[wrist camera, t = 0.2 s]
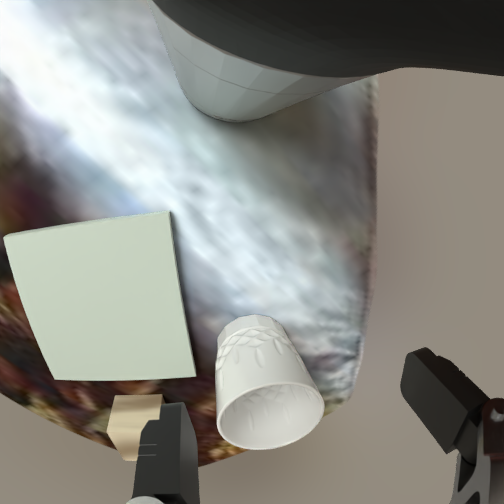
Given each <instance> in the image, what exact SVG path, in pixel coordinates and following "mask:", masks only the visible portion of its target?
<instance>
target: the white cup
mask: <svg viewBox="0 0 504 504" xmlns="http://www.w3.org/2000/svg"><path fill="white" fill-rule="evenodd" d="M215 373H216V410H217V428H218V431H219V433H220V434H221V436H222V437H223V438H224V439H225V440H226V441H228V442H229V443H231V444H233V445H235V446H238V447H241V448H245V449H252V450H265V449H273V448H278V447H282V446H285V445H288V444H291V443H293V442H295V441H297V440H299V439H301V438H302V437H304V436H306V435H307V434H308V433H310V432H311V431H312V430H313V429H314V428H315V427H316V426H317V424H318V423H319V422H320V420H321V418H322V416H323V413H324V408H325V405H324V400H323V398H322V396H321V394H320V392H319V390H318V389H317V387H316V385H315V383H314V381H313V380H312V378H311V376H310V374H309V372H308V370H307V368H306V366H305V365H304V363H303V361H302V359H301V357H300V356H299V354H298V352H297V350H296V349H295V347H294V345H293V344H292V343H291V342H290V340H289V339H288V337H287V335H286V333H285V331H284V329H283V327H282V326H281V325H280V324H279V323H277V322H276V321H275V320H274V319H272V318H271V317H267V316H262V315H257V314H253V315H248V316H242V317H238V318H237V319H235V320H234V321H232V322H230V323H229V324H227V325H226V326H225V327H224V329H223V330H222V332H221V333H220V335H219V336H218V338H217V360H216V372H215Z"/></svg>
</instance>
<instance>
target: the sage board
mask: <svg viewBox="0 0 504 504" xmlns="http://www.w3.org/2000/svg"><path fill="white" fill-rule="evenodd" d="M3 238H4V242H5V246H6V250H7V254H8V258H9V262H10V265H11V269H12V272H13V276H14V279H15V282H16V286H17V289H18V292H19V295H20V298H21V301H22V304H23V306H24V309H25V312H26V315H27V317H28V320H29V323H30V325H31V328H32V330H33V333H34V335H35V338H36V340H37V342H38V345H39V347H40V349H41V351H42V354H43V356H44V358H45V360H46V362H47V365H48V367H49V369H50V371H51V373H52V375H53V377H54V379H57V380H94V381H109V380H148V379H167V378H181V377H194V376H196V367H195V363H194V358H193V353H192V348H191V343H190V338H189V333H188V327H187V322H186V316H185V311H184V305H183V299H182V293H181V287H180V281H179V274H178V268H177V261H176V254H175V247H174V240H173V233H172V225H171V217H170V210H169V211H160V212H152V213H144V214H136V215H128V216H120V217H113V218H106V219H98V220H92V221H85V222H78V223H72V224H65V225H59V226H53V227H47V228H41V229H35V230H29V231H23V232H18V233H12V234H8V235H6V236H5V237H3Z"/></svg>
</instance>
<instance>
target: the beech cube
mask: <svg viewBox="0 0 504 504" xmlns="http://www.w3.org/2000/svg"><path fill="white" fill-rule="evenodd" d="M162 404H165V401H164V398H163V396H162V394H159V395H120V396H115V398H114V402H113V406H112V411H111V415H110V419H109V423H108V428H107V433H108V435H109V437H110V438H111V440H112V442H113V443H114V445H115V446H116V448H117V450H118V451H119V453H120V454H121V456H122V457H123V459H124V460H126V461H137V457H138V449H139V446H140V445H139V442H140V435H141V431H142V429H143V428H144V426H145V425H146V423H147V422H148V420H158V419H159V415H160V407H161V405H162Z"/></svg>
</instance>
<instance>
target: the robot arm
mask: <svg viewBox="0 0 504 504" xmlns="http://www.w3.org/2000/svg"><path fill="white" fill-rule="evenodd" d="M147 1H148V4H149V7H150V9H151V11H152V14H153V16H154V19H155V21H156V24H157V26H158V29H159V32H160V34H161V37H162V40H163V42H164V45H165V47H166V50H167V53H168V55H169V58H170V60H171V63H172V66H173V68H174V71H175V74H176V77H177V79H178V82H179V84H180V87H181V89H182V90H183V92H184V94H185V96H186V98H187V99H188V100H189V101H190V102H191V103H192V104H193V105H194V106H195V107H196V108H197V109H199V110H200V111H201V112H203V113H204V114H206V115H208V116H211V117H213V118H215V119H219V120H223V121H227V122H246V121H253V120H256V119H260V118H263V117H266V116H268V115H270V114H273V113H274V112H276V111H279V110H281V109H283V108H286V107H288V106H291V105H293V104H296V103H298V102H301V101H303V100H306V99H308V98H311V97H313V96H316V95H319V94H321V93H324V92H327V91H329V90H332V89H334V88H337V87H340V86H343V85H346V84H349V83H352V82H355V81H358V80H361V79H364V78H367V77H370V76H373V75H376V74H379V73H383V72H387V71H391V70H394V69H398V68H404V67H417V68H436V69H447V70H456V71H463V72H473V73H479V74H488V75H497V76H504V0H147ZM400 387H401V392H402V395H403V397H404V399H405V400H406V401H407V403H408V404H409V405H410V407H411V408H412V409H413V410H414V412H415V413H416V414H417V416H418V417H419V418H420V419H421V421H422V422H423V424H424V425H425V426H426V428H427V429H428V430H429V431H430V433H431V434H432V435H433V437H434V438H435V439H436V441H437V442H438V443H439V445H440V446H441V447H442V449H443V450H444V452H445V453H446V454H448V453H450V452H451V451H453V450H455V449H458V450H459V454H458V456H457V464H456V473H455V481H454V488H453V495H452V498H451V501H450V503H449V504H504V399H503V398H493V399H490V398H489V397H488V396H486V394H485V393H484V392H483V391H482V390H481V389H479V388H478V387H477V386H476V385H475V384H474V383H473V382H472V381H471V380H470V379H469V378H468V377H466V376H465V374H464V373H463V372H462V371H461V370H460V371H459V368H458V367H457V366H455V365H454V364H453V363H452V362H451V361H450V360H448V359H445V358H443V357H441V356H436V355H435V354H434V353H433V352H432V351H431V350H430V349H428V348H426V347H424V348H421V349H419V350H416V351H413V352H411V353H408V354H407V356H406V359H405V364H404V369H403V374H402V379H401V384H400ZM139 445H140V446H139V449H138V457H137V464H136V472H135V481H134V490H133V495H132V498H131V500H130V501H128V502H127V503H126V504H200V498H199V479H198V455H197V441H196V435H195V431H194V428H193V426H192V423H191V420H190V418H189V415H188V412H187V409H186V407H185V404H184V403H183V402H182V403H171V404H162V405H161V407H160V415H159V419H158V420H148V422H147V423H146V425H145V426H144V428H143V429H142V431H141V435H140V442H139Z"/></svg>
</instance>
